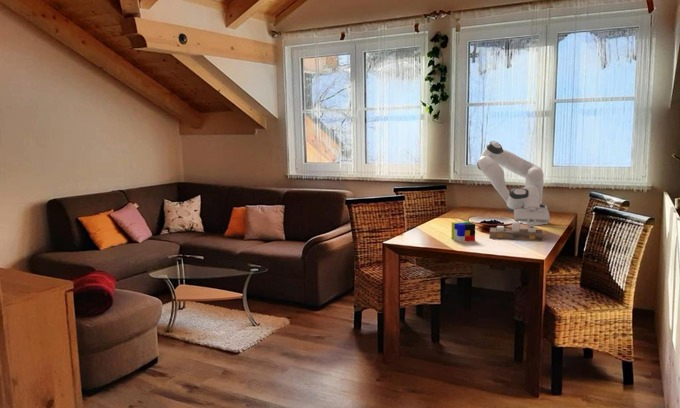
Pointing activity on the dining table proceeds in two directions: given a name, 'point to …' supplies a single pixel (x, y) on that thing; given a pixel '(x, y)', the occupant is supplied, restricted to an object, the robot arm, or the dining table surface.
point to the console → (516, 234)
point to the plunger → (531, 229)
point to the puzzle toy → (463, 231)
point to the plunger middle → (516, 226)
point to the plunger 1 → (500, 228)
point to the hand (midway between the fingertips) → (531, 227)
